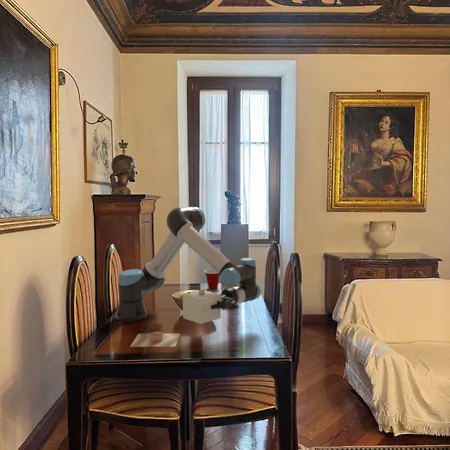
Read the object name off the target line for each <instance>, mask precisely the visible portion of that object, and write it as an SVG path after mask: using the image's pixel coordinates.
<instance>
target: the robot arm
mask: <svg viewBox="0 0 450 450" xmlns="http://www.w3.org/2000/svg"><path fill="white" fill-rule="evenodd" d="M205 225H206V215H205V213H204V212H203V210H202V209H201V208H199V207H198V206H197V207H196V206H187V207H176V208H173V209H171V211H169V213H168V214H167V217H166V226H167V228H168V230H169V234H168V236H167V237H166V238H165V240H164V242H163V243H162V244H161V246H160V248H159V249H158V251H157V253H155V255H154V257H152V260H151V261H149V262H146V263H145V265H144V266H143V268H142V269H139V268H133V269H131V268H130V269H127V270H123V271H122V272H120V273H119V274H118V279H117V284H118V285H117V286H118V306H117V308H116V312H115V319H116V320H117V321H119V322H138V321H142V320H144V319H146V318H147V317H148V314H147V313H148V312H147V309H146V306H145V303H144V296H143V294H146V293H149V292H154V291H157V290H159V289H161V288H162V287H163V285H164V284H165V281H166V278H165V277H166V274H167V273H166V270H167V269H168V267H169V266H170V264H171V263H172V262H173V260H174V258H175V257H176V256H177V254H178V253H179V251H180V249H181V248H182V247H183V245H184V244H186V245H187V246H188V247H190V248H191V250H192V251H194V253H196V255H198V256H199V257H200V258H201V259H202V260H203V261H205V263H206V264H207V265H208V266H210V267H211V269H214V270H215V271H216V272H218V273H219V274H220V276H219V278H220V281H221V282H222V284H223V285H224V286H225V287H226V286H227V287H233V288H229V289H225V290H223V289H222V291H221V293H220V294H221V301H217V302H213V303H209V304H205V305H203V312H207V311H210V310H214V309H220V308H221V311H222V310H226V309H228V308H229V307H231V306H238V305H239V304H242V303H243V304H244V303H246V302H252V301H255V300H257V299H259V298H260V297H261V293H262V290H261V287H260V285H259V284H258V283H257V264H256V263H257V262H256V259H254V258H251V257H250V258H249V257H242V258H240V259H239V260H238V261H239V263H238V265H236V264H234V263H233V262H232V261H231V260H230V259H228V258H227V257H226V256H225V255H224V254H223V253H222V252H221V251H220V250H219V249H218V248H217V247H215V246H214V245H213V244H212V243H211V242H210V241H208V239H207V238H206V237H204V235H203V234H201V233H200V232H199V231H200V230H202V229H203V228H204V226H205ZM238 284H239V286H237V285H238ZM235 304H236V305H235Z"/></svg>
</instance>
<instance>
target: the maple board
mask: <svg viewBox="0 0 450 450" xmlns="http://www.w3.org/2000/svg"><path fill="white" fill-rule="evenodd" d="M149 334H150V333H138V334H137V335H136V337H135V338H134V340H133V342H132V343H131V345H130V346H129V347H130V348H140V347H142V348H144V347H145V348H146V347H147V348H153V347H154V348H159V347H160V348H162V347H163V348H164V347H167V348H168V347H172V348H173V347H174V348H175V347H176V345H177V344H178V340H179V338H180V335H181V333H163V340H162V341H160V342H151V341H149Z"/></svg>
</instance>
